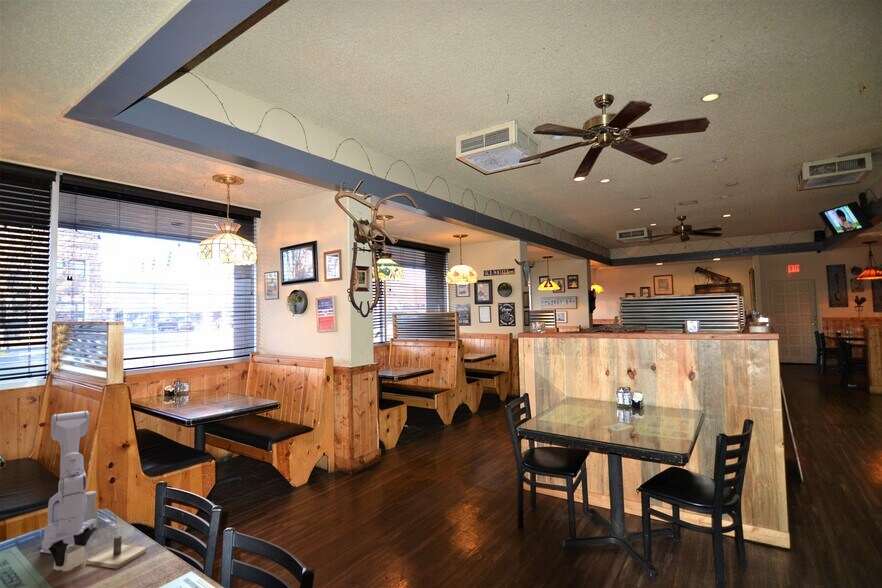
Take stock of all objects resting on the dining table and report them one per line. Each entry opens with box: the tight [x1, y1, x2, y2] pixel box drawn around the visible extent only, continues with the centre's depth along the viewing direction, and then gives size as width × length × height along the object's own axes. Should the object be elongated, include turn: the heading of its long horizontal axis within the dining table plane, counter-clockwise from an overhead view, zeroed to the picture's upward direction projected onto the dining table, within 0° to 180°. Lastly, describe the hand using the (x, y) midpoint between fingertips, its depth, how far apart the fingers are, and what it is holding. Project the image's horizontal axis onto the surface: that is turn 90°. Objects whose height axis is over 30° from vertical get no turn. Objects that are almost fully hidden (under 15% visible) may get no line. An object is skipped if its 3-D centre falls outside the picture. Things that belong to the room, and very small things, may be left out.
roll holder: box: [85, 535, 148, 570], centre depth 138 cm, size 12×10×6 cm
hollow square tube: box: [53, 544, 86, 572], centre depth 133 cm, size 5×5×5 cm
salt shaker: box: [83, 490, 99, 530], centre depth 157 cm, size 6×6×13 cm
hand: (69, 560), depth 133 cm, fingers closed on hollow square tube, 5 cm apart
